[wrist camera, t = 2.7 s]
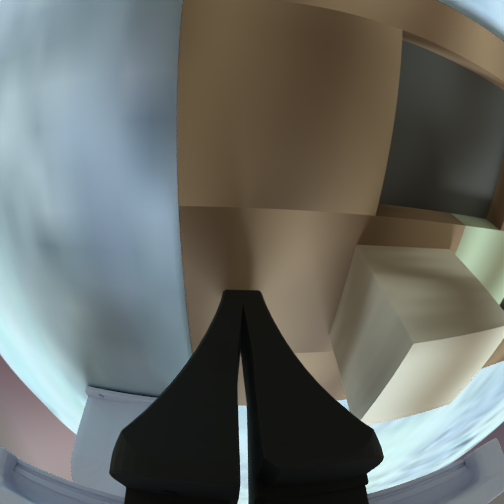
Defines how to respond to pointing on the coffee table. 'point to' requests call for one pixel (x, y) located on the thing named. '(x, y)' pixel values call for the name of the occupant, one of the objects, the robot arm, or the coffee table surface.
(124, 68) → the coffee table surface
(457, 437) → the coffee table surface
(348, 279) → the block
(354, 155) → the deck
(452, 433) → the coffee table surface
